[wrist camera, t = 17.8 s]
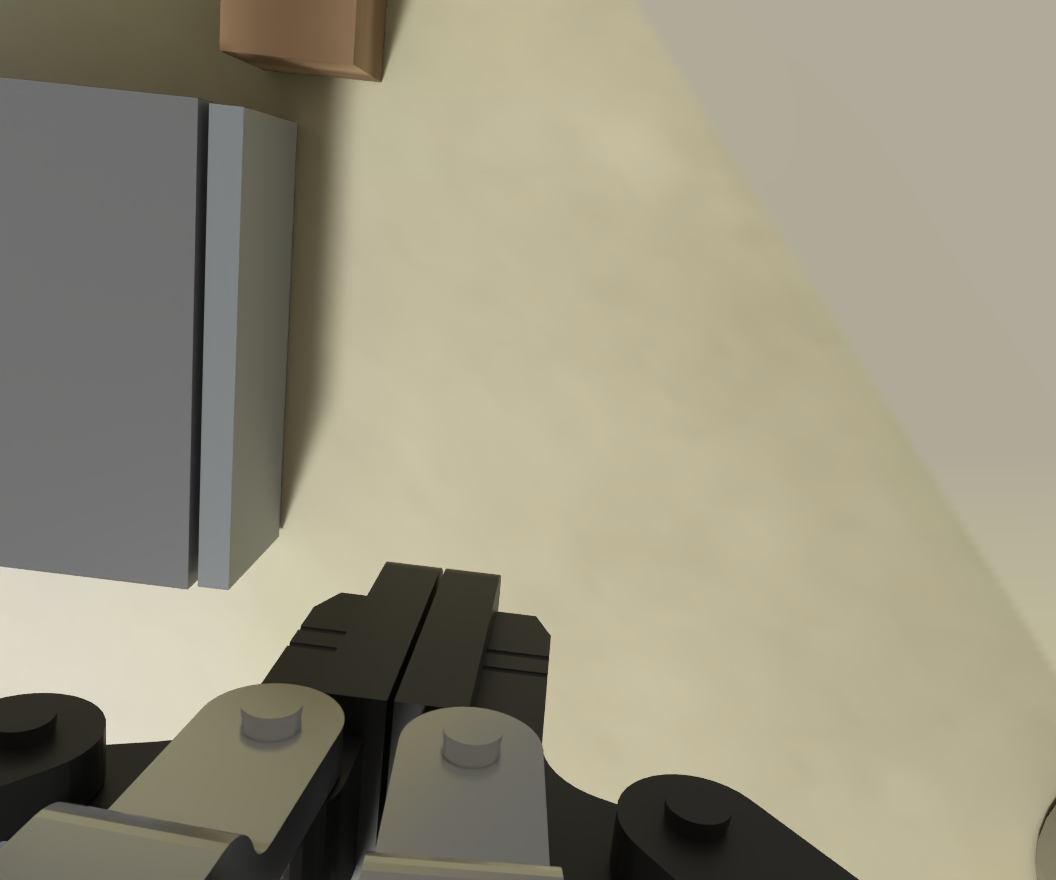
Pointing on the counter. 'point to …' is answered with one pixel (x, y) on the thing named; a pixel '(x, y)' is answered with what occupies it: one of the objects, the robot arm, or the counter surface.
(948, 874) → the counter surface
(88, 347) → the housing
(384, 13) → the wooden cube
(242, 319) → the tray
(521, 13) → the counter surface
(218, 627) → the counter surface
